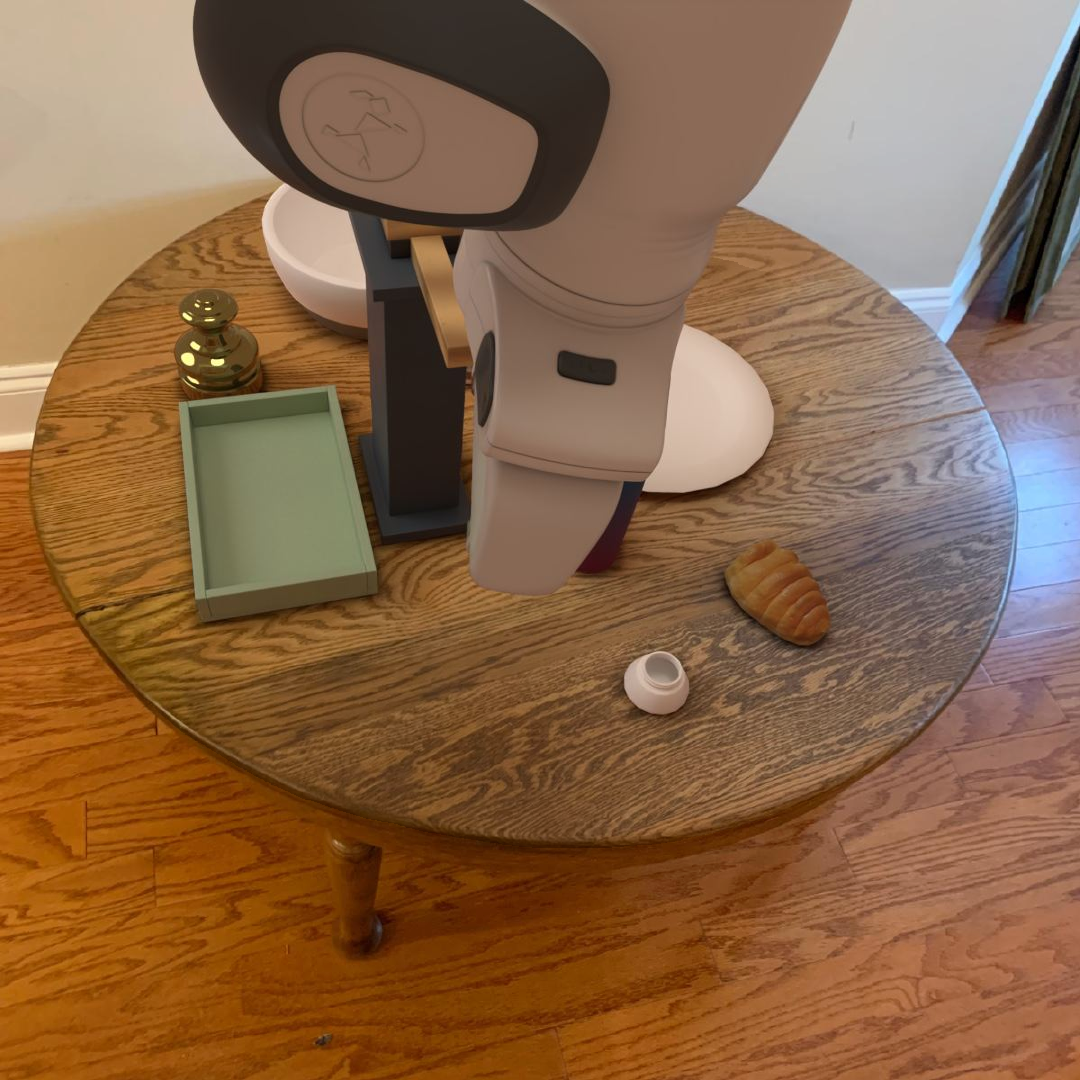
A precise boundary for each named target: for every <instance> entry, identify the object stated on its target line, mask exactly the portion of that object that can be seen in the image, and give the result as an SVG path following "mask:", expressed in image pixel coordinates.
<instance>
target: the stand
mask: <svg viewBox="0 0 1080 1080" xmlns="http://www.w3.org/2000/svg"><path fill="white" fill-rule="evenodd" d="M348 214H349V218H350V221H351V225H352V228H353V232H354V235H355V239H356V243H357V246H358V250H359V253H360V257H361V260H362V264H363V267H364V271H365V277H366V300H367V323H368V340H367V343H368V361H369V362H368V366H369V389H370V411H371V414H370V415H371V433H363V434H357V439H358V440H357V442H358V447H359V451H360V456H361V460H362V464H363V468H364V473H365V478H366V482H367V485H368V490H369V494H370V499H371V503H372V506H373V512H374V516H375V519H376V525H377V528H378V532H379V533H378V534H379V537H380V542H381V544H382V545H383V546H385V545H391V544H397V543H398V544H399V543H403V542H410V541H416V540H423V539H430V538H436V537H442V536H449V535H454V534H461V533H467V524H468V521H470V518H471V502H470V499H469V496H468V493H467V490H466V487H465V483H464V480H463V478H462V473H461V472H462V459H463V458H462V457H463V440H464V439H463V438H464V424H465V423H464V421H465V408H466V407H465V405H466V388H467V387H466V385H467V384H466V372H467V366H464V367H455V368H447V366H446V363H445V360H444V357H443V354H442V351H441V348H440V345H439V342H438V338H437V335H436V332H435V329H434V326H433V323H432V320H431V317H430V314H429V311H428V308H427V305H426V302H425V299H424V296H423V293H422V290H421V287H420V284H419V281H418V278H417V275H416V272H415V269H414V266H413V263H412V260H411V257H406V258H394V259H391V258H390V254H389V251H388V248H387V245H386V241H385V238H384V235H383V232H382V229H381V225H380V222H379V219H378V218H375V217H370V216H365V215H361V214H357V213H352V212H349V211H348ZM463 232H464V229H463ZM461 238H462V235H460V242H461ZM456 255H457V253H455V254H448V256H449V259H450V262H451V264H452V267H454V261H455V258H456Z"/></svg>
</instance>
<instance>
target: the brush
mask: <svg viewBox="0 0 1080 1080" xmlns="http://www.w3.org/2000/svg"><path fill="white" fill-rule="evenodd" d="M378 219H379V222H380V225H381V229H382V232H383V235H384V238H385V241H386V245H387V248H388V251H389V254H390V258H391V259H394V258H406V257H411V260H412V263H413V266H414V269H415V272H416V275H417V278H418V281H419V284H420V287H421V290H422V293H423V296H424V299H425V302H426V305H427V308H428V311H429V314H430V317H431V320H432V323H433V326H434V329H435V332H436V335H437V338H438V342H439V345H440V348H441V351H442V354H443V357H444V360H445V363H446V366H447V368H455V367H464V366H473V365H474V362H473V358H472V354H471V350H470V346H469V342H468V337H467V333H466V328H465V318H464V315H463V313H462V311H461V309H460V307H459V304H458V301H457V299H456V295H455V291H454V285H453V267H452V264H451V262H450V259H449V256H448V254H455V253H457V251H458V248H459V245H460V235H463V229H457V228H446V227H436V226H428V225H418V224H411V223H404V222H398V221H392V220H386V219H381V218H378Z"/></svg>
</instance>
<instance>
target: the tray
mask: <svg viewBox="0 0 1080 1080" xmlns="http://www.w3.org/2000/svg"><path fill="white" fill-rule="evenodd" d="M178 413H179V414H178V415H179V426H180V437H181V448H182V449H181V450H182V462H183V471H184V481H185V495H186V496H185V497H186V506H187V507H186V509H187V518H188V530H189V541H190V542H189V544H190V553H191V554H190V555H191V564H192V576H193V577H192V578H193V588H194V599H195V603H196V606H197V609H198V613H199V616H200V620H201V623H208V622H215V621H221V620H227V619H234V618H238V617H244V616H250V615H251V616H252V615H255V614H262V613H268V612H274V611H275V612H276V611H279V610H280V611H281V610H286V609H292V608H298V607H299V608H300V607H304V606H311V605H315V604H316V605H317V604H322V603H328V602H329V603H330V602H335V601H341V600H345V599H346V600H347V599H351V598H358V597H365V596H371V595H376V594H379V587H378V586H379V584H378V582H379V581H378V568H377V564H376V559H375V555H374V551H373V546H372V542H371V538H370V534H369V533H370V532H369V529H368V525H367V520H366V515H365V512H364V507H363V502H362V498H361V493H360V490H359V489H360V488H359V484H358V480H357V476H356V471H355V467H354V463H353V457H352V454H351V450H350V445H349V440H348V436H347V432H346V427H345V423H344V418H343V413H342V409H341V405H340V401H339V395H338V391H337V387H336V384H328V385H320V386H312V387H303V388H294V389H293V388H292V389H284V390H277V391H276V390H275V391H267V392H258V393H257V394H248V395H239V396H230V397H221V398H212V399H203V400H195V401H193V400H188V401H186V400H185V401H179V402H178Z"/></svg>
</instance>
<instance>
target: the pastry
mask: <svg viewBox="0 0 1080 1080" xmlns="http://www.w3.org/2000/svg"><path fill="white" fill-rule="evenodd" d="M724 578H725V582H726V585H727V587H728V590H729V591H730V592H729V593H730V595H731V598H732V599H733V600H735V601H736V602H737V604H738V605H739V608H740V609H742V610H743V611H744V612H746V613H747V614H748V615H749V616H750V617H751V618H753V619H754V620H756V621H757V622H758V623H759V624H760V625H761V626H764V627H765V628H766V629H768V631H770V632H772V633H773V635H776V636H777V637H779V638H781V639H783V640H784V641H788V642H791V643H793V644H796V645H798V646H810V645H813V644H815V643H817V642H819V641H820V640H821V639H822V638H823V637H824V636H825V635H826V634H827V633H828V632H829V631H830V630H831V622H832V618H831V617H832V616H831V614H830V612H829V609H828V605H827V604H828V603H827V602H828V601H827V599H826V598H825V597H824V596H823V595H822V594H821V590H820V584H819V582H818V581H816V580H815V579H813V578H814V577H813V574H812V572H811V571H810V569H809V568H808V566H807V565H806V564H805V563H800V561H799V557H798V555H797V553H796V552H794V551H793V550H792V549H788V548H787V549H784V548H782V547H781V545H779V544H778V543H776V540H774V539H770V538H767V539H765V540H762V541H759V542H757V543H754V544H752V545H751V546H749V547H748V548H747V549H746V550H745V551H744V552H741V553H740V554H739V555H738V556H737V557H736V558H735V559H734V560H733V561H732V562H731V563H730V564H729V566H728V567H726V569H725V570H724Z"/></svg>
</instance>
